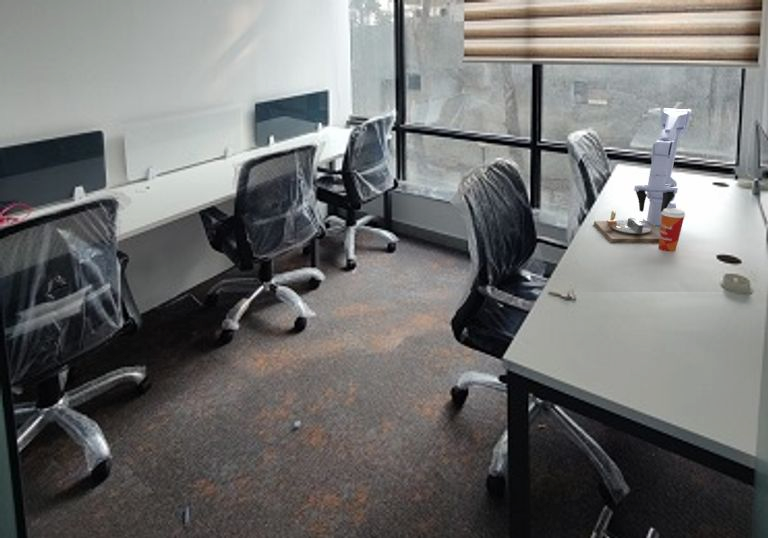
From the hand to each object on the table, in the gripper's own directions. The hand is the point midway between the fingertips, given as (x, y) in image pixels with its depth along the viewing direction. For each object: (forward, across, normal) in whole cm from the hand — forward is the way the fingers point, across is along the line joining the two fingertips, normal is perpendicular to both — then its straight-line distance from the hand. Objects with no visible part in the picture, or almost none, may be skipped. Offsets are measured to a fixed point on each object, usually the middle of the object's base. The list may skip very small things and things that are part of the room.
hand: (651, 211), depth 225 cm
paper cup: (+11, +3, -12) cm, 16 cm away
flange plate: (+8, -6, +4) cm, 10 cm away
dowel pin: (+8, -10, +11) cm, 17 cm away
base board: (+10, -5, +4) cm, 12 cm away
